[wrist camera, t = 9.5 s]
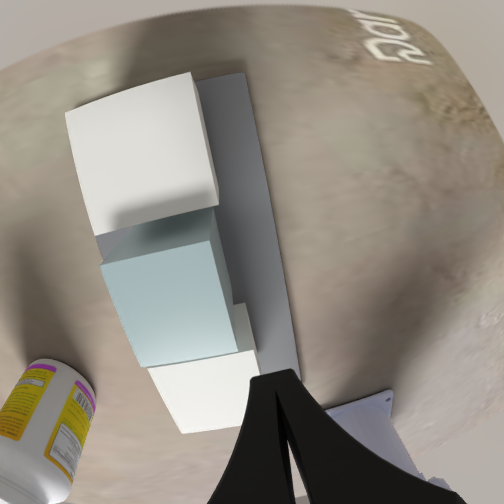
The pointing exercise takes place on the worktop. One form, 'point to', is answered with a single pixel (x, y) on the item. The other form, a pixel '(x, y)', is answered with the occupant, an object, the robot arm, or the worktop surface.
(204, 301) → the block
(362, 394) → the worktop surface
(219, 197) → the board
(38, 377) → the supplement bottle
